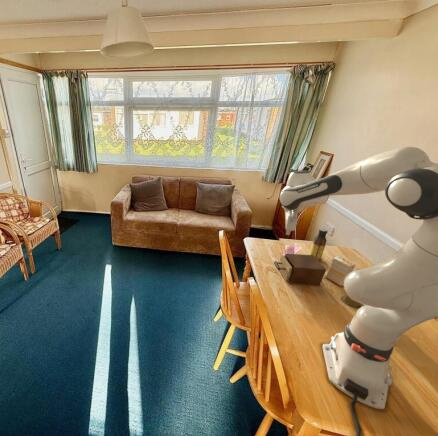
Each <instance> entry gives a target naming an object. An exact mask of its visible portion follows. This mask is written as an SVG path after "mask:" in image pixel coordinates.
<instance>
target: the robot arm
mask: <svg viewBox="0 0 438 436" xmlns="http://www.w3.org/2000/svg"><path fill="white" fill-rule="evenodd" d="M379 192H384V195H385V198H386V200H387V201H388V203H389V204H390V205H391V206H393V208H395V209H396V210H399V211H401V212H403V213H405V214H406V215H407V216H408V217H409V218H410V219H414V220H419V221H420V220H421V221H423V222H422V223H421V225H420V227H418V229H417V230H416V231H415V232H414V233H413V235H412V236H411V237H410V238H409V239H408V240H407V241H406V242H405V243H404V245H403V246H401V247H400V249H399V250H398V251H397V252H396V253H394V254H393V255H391V256H389V258H386V259H385V260H382V261H381V262H379V263H376V264H374V265H371V266H369V267H365V268H362V269H357V270H353V271H352V272H350V273H349V274H348V275H347V276H346V277H345V279H344V286H343V290H344V292H345V295H346V294H347V295H348V296H349V297H350V298H351V299H352V300H353V301H356V302H359V303H360V304H362V306H360V307H359V308H358V309H357V310H356V312H355V314H354V316H353V317H352V319H351V321H350V322H348V323H347V324H346V325H345V327H344V330H343V331H341V332H338V333H336V334H335V335H334V336H331V341H330V343H323V344H322V351H323V352H322V353H323V357H324V362H325V367H326V371H327V376H328V380H329V383H331V384H332V385H333V386H334V387H336V388H337V389H338V390H339V391H341V392H342V393H344V394H345V395H346V396H348V397H350V398H352V401H350V412H351V415H352V419H353V422H354V425H355V431H356V434H355V436H362V435H361V433H362V432H361V427H360V424H359V421H358V418H357V415H356V411H355V405H356V404H357V402H359V403H361V404H363V405H366V406H368V407H370V408H373V409H377V410H385V407H386V404H387V398H388V392H389V386H390V387H391V385H393V381H394V380H393V378H391V375H390V373H389V372H392V370H393V366H390V362H391V359H392V354H393V351H394V347H395V344H396V343H397V342H398V340H399V339H400V338H401V337H402V336H403V335H404V334H405V333H406V332H408V331H409V330H411V329H412V328H415V327H416V326H418V325H420V324H423V323H425V322H428V321H430V320H433V319H434V320H435V319H437V318H438V163H435V162H433V161H432V160H431V159H430V157H429V154H427V152H425V151H424V150H423V149H421V148H418V147H415V146H403V147H398V148H395V149H392V150H391V149H390V150H387V151H383V152H380V153H378V154H375V155H371V156H369V157H365V158H364V159H362V160H360V161H357V162H355V163H353V164H351V165H349V166H347V167H345V168H342V169H340V170H338V171H335V172H333V173H331V174H328V175H326V176H324V177H322V178H319V179H316V178H315V177H314V176H313V173H312V172H311V171H310V170H294V171H292V172H290V173H289V175H288V178H287V181H286V185H285V186H284V188H282V190H281V191H280V192H279V195H278V201H279V203H280V205H281V207H282V209H284V219H285V220H284V221H285V222H284V223H285V225H284V226H285V235H286V236H290V235H291V232H294V231H295V230H296V227H297V224H298V223H297V222H298V215H299V213H300V212H301V211H304V209H305V208H311V207H317V206H322V205H324V204H326V203H327V202H328V200H329V198H330V197H331V196H333V197H334V196H350V195H351V196H353V195H366V194H367V195H368V194H374V193H379ZM388 371H389V372H388Z"/></svg>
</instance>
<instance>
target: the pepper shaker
mask: <svg viewBox="0 0 438 436" xmlns="http://www.w3.org/2000/svg"><path fill="white" fill-rule="evenodd" d="M342 301H343V302H344V303H345V304H347V305H348V306H351V307H353V308H354V307H355V308H357V307H359V306H360V304H361V303H359V302H356V301H353V300H352V299H351V298H350V297H349V296H348V295H347V294H346V293H345V295H344V296H343V297H342Z"/></svg>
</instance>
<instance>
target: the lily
mask: <svg viewBox="0 0 438 436" xmlns="http://www.w3.org/2000/svg"><path fill="white" fill-rule="evenodd" d="M284 246H285V251H284V252H283V253H282V254H281V255H284V256H285V253H286V254H297V253H298V251H300V250H301V249H302V248H303V246H297V242H295V243H294V244H293V245H292V246H291V245H290V244H289V245H288V244H285V245H284Z"/></svg>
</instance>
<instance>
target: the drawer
mask: <svg viewBox="0 0 438 436" xmlns="http://www.w3.org/2000/svg"><path fill="white" fill-rule="evenodd" d="M273 264H274V266H275V268H276V269H277V271H279V273H280V274H281V276H282V277H283V279H284V281H285V282H289V281H288V279H291V276H292V273H293V270H294V266H293V265H292V264H291V262H290V261H289V259H288V258H287V257H286V258H285V255H282V254H281V255H280V258H279V261H278V262H277V260H274V261H273Z"/></svg>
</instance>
